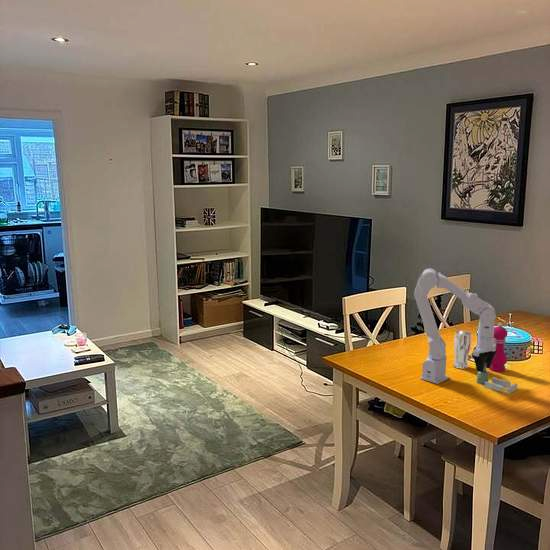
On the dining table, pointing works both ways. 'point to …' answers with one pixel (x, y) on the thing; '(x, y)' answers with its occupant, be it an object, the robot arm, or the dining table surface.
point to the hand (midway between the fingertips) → (483, 369)
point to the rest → (503, 384)
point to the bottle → (482, 376)
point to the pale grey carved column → (462, 348)
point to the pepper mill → (499, 349)
